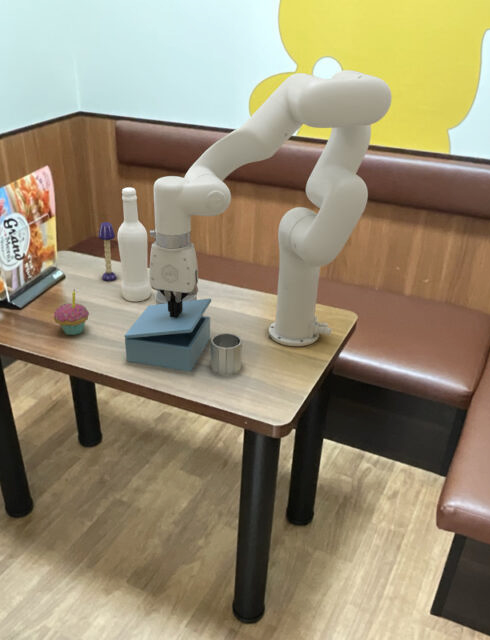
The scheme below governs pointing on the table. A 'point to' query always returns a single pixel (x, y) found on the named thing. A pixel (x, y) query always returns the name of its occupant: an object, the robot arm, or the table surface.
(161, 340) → the box
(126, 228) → the bottle
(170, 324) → the lid
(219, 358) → the steel cup
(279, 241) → the robot arm
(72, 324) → the cupcake
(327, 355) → the table surface
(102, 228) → the toy lamp
